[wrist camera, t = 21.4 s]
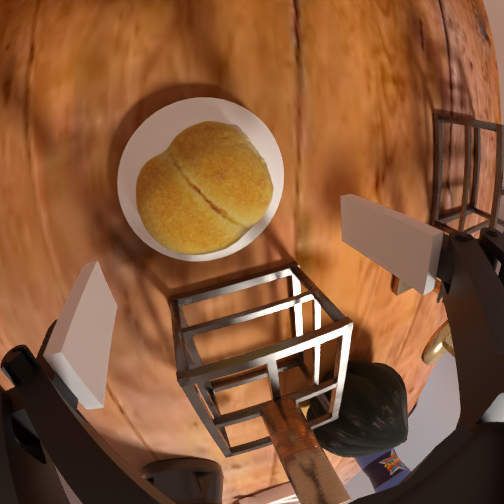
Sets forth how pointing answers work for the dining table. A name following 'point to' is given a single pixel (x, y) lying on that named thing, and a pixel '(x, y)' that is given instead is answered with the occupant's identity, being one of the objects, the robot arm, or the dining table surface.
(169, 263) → the dining table surface
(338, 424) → the squash
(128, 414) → the dining table surface
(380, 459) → the water bottle
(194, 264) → the dining table surface
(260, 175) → the bread roll
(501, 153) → the wire frame cage
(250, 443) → the metal bar cube frame
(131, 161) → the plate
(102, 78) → the dining table surface
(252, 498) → the ring with crossbar
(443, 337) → the balance
